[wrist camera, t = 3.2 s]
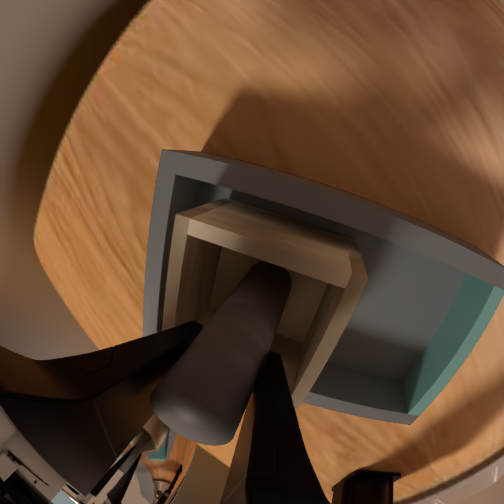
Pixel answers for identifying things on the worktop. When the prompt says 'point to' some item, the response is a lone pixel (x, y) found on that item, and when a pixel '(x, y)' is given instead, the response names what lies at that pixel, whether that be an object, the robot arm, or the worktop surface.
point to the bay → (375, 291)
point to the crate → (250, 310)
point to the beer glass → (143, 469)
